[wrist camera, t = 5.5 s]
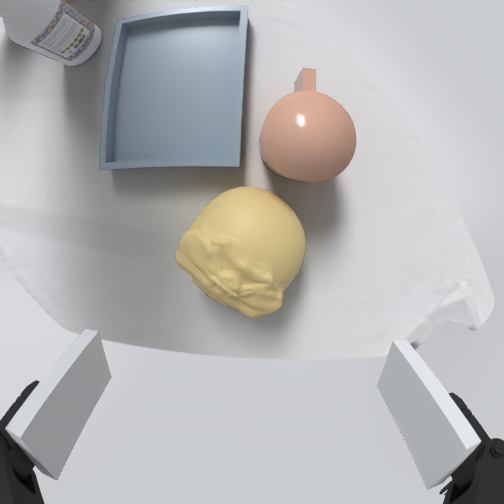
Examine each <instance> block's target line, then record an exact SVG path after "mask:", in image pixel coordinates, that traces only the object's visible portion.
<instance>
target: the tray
mask: <svg viewBox="0 0 504 504" xmlns="http://www.w3.org/2000/svg"><path fill="white" fill-rule="evenodd" d="M247 27H248V6H208V7H193V8H183V9H174V10H167V11H160V12H154V13H148V14H143V15H138V16H133V17H128V18H124V19H120V20H118V22H117V26H116V30H115V34H114V39H113V43H112V48H111V53H110V59H109V65H108V71H107V77H106V84H105V92H104V101H103V110H102V122H101V138H100V170H111V169H126V168H146V167H180V166H216V167H240V156H241V134H242V113H243V94H244V76H245V58H246V42H247Z"/></svg>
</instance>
